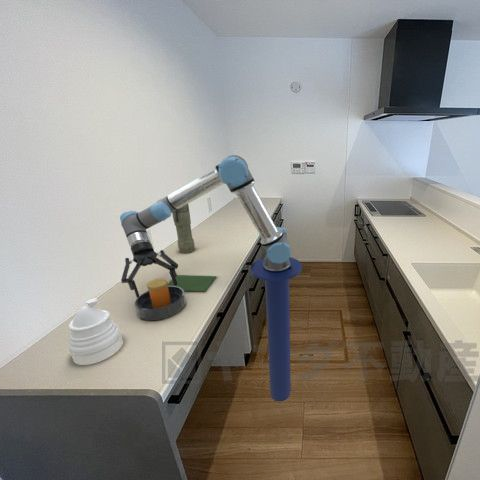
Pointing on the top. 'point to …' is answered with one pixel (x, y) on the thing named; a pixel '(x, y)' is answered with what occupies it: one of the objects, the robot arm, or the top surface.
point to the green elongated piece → (183, 229)
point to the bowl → (148, 313)
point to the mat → (193, 282)
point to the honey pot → (93, 335)
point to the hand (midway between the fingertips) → (157, 290)
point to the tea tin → (159, 293)
